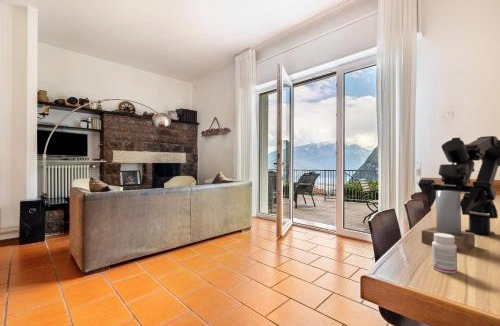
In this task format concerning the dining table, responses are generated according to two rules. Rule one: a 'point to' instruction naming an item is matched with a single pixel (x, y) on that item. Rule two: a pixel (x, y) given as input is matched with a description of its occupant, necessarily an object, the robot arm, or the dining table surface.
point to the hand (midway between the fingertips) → (446, 208)
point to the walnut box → (461, 241)
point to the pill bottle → (444, 253)
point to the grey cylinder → (448, 212)
